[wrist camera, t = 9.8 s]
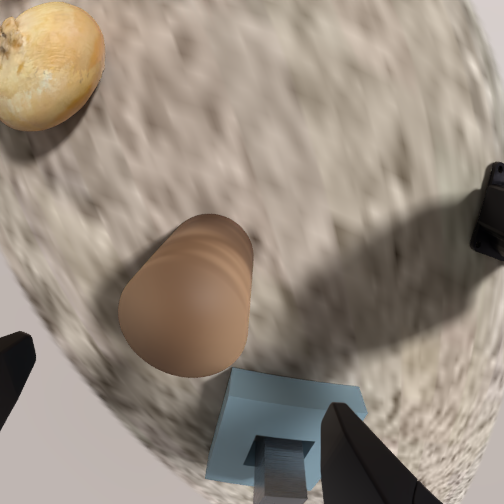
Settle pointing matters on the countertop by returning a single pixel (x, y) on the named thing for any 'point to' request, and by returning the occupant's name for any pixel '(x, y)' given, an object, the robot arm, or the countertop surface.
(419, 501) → the robot arm
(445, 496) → the countertop surface
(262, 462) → the square peg
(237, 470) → the socket board
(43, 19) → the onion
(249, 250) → the round peg
